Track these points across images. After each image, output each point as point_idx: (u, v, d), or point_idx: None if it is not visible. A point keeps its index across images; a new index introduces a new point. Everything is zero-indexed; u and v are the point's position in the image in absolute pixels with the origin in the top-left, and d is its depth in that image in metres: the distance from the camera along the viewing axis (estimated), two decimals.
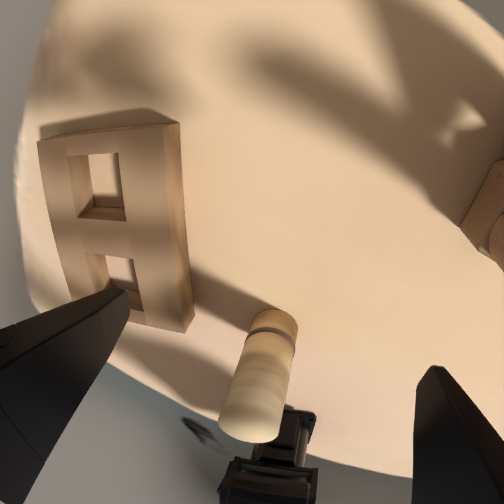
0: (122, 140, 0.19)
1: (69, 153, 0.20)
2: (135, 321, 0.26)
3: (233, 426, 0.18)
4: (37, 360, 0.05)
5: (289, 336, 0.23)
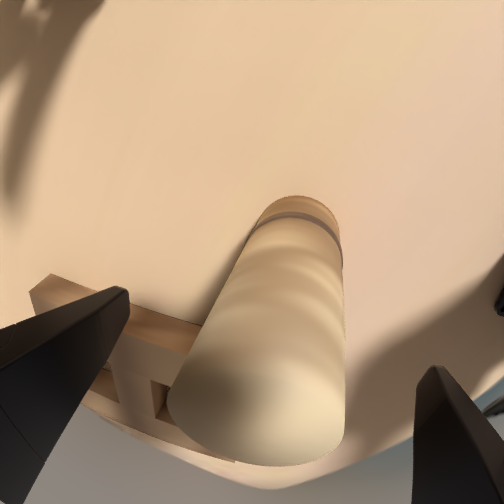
0: None
1: None
2: None
3: (249, 447, 0.06)
4: (37, 360, 0.05)
5: (266, 218, 0.12)
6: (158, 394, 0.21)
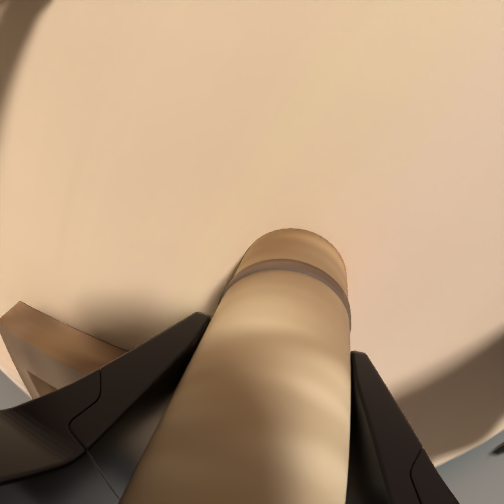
0: (16, 360, 0.16)
1: None
2: None
3: None
4: (137, 411, 0.05)
5: (248, 267, 0.09)
6: None
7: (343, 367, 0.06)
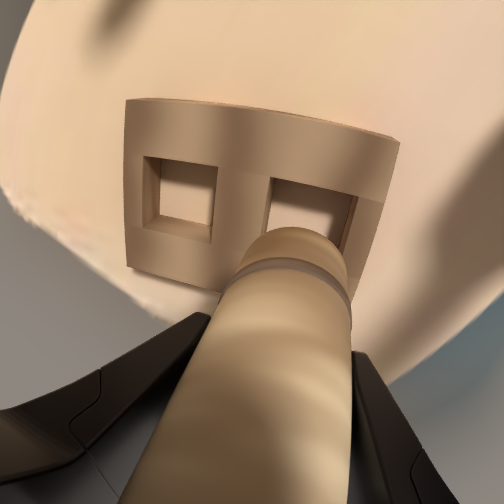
0: (132, 147, 0.18)
1: (139, 222, 0.21)
2: (376, 221, 0.17)
3: None
4: (138, 411, 0.05)
5: (248, 265, 0.09)
6: (265, 219, 0.20)
7: (344, 366, 0.06)
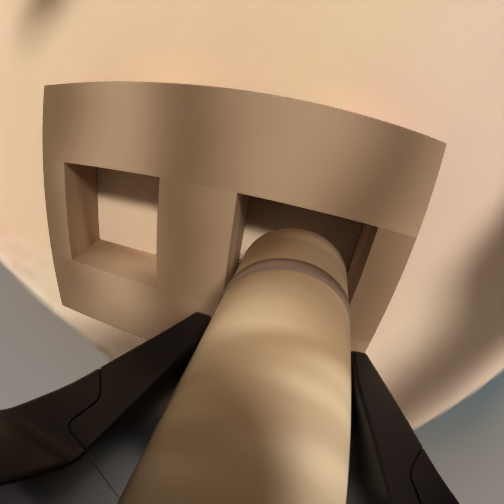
0: (52, 150, 0.12)
1: (68, 252, 0.14)
2: (402, 264, 0.11)
3: None
4: (138, 411, 0.05)
5: (248, 266, 0.09)
6: (233, 254, 0.13)
7: (344, 367, 0.06)
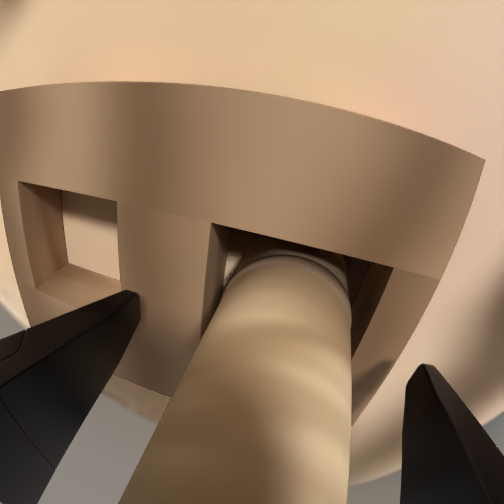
0: (5, 166, 0.09)
1: (31, 281, 0.12)
2: (420, 311, 0.08)
3: None
4: (49, 367, 0.05)
5: (250, 263, 0.09)
6: (211, 292, 0.11)
7: (344, 360, 0.06)
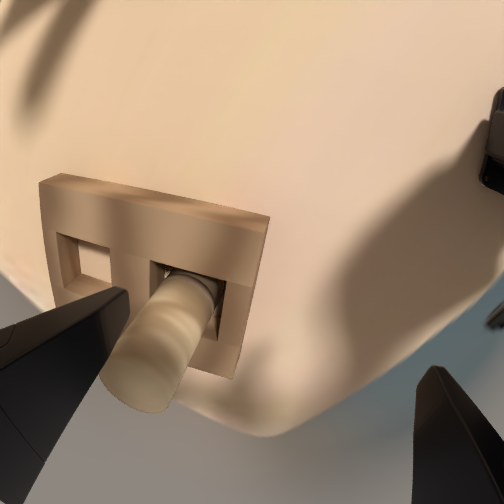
0: (47, 223, 0.20)
1: (61, 284, 0.22)
2: (246, 302, 0.19)
3: (135, 399, 0.14)
4: (37, 360, 0.05)
5: (167, 277, 0.20)
6: (155, 290, 0.21)
7: (192, 317, 0.17)
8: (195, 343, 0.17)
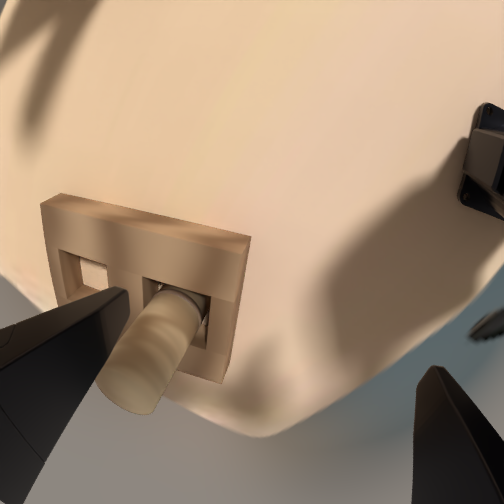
0: (50, 240, 0.22)
1: (64, 295, 0.24)
2: (229, 315, 0.21)
3: (126, 402, 0.16)
4: (37, 360, 0.05)
5: (158, 291, 0.21)
6: None
7: (178, 329, 0.19)
8: (181, 353, 0.18)
